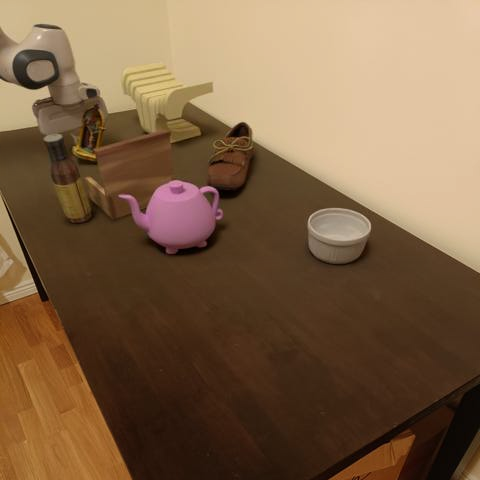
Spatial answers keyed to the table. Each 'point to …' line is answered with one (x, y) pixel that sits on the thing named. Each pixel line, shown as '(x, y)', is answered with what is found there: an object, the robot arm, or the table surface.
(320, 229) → the ramekin
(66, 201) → the sauce bottle
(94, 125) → the shrine
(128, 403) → the table surface
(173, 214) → the teapot
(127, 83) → the slatted curved stool
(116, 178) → the wooden holder
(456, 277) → the table surface
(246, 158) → the moccasin
